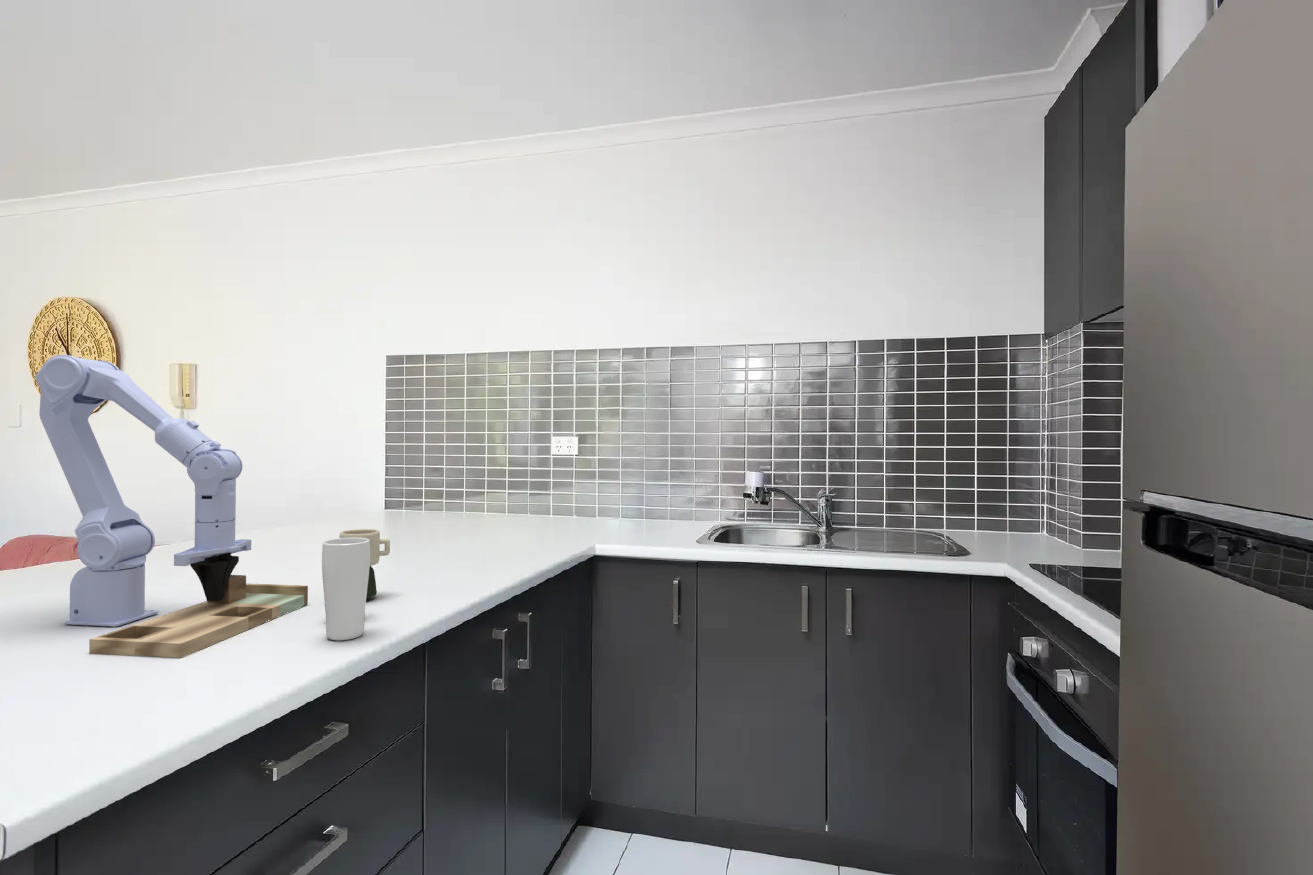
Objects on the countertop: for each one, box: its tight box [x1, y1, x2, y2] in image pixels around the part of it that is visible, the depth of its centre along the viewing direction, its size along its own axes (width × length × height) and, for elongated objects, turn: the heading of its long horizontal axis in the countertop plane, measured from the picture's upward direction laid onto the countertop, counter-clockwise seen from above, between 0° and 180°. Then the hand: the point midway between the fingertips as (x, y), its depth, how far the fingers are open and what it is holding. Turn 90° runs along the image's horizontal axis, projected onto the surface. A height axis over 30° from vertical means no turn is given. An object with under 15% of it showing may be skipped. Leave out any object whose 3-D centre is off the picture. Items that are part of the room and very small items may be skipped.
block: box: [206, 574, 247, 604], centre depth 112 cm, size 4×4×4 cm
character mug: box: [338, 528, 391, 600], centre depth 121 cm, size 11×7×13 cm, turn 125°
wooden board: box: [88, 582, 309, 659], centre depth 104 cm, size 14×28×4 cm, turn 175°
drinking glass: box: [321, 538, 370, 642], centre depth 99 cm, size 7×7×15 cm
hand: (214, 600), depth 108 cm, fingers closed
